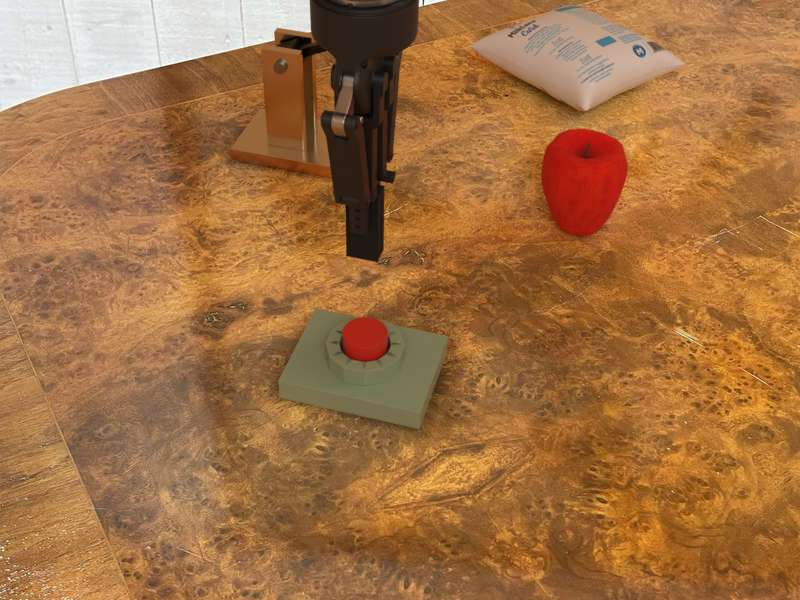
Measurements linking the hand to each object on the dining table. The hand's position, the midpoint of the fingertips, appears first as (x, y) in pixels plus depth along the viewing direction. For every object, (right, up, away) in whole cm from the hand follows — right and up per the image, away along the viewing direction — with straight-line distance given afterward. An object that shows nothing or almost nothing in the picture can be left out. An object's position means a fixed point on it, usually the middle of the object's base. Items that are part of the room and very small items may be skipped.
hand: (365, 252), depth 88 cm
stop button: (0, -8, +7) cm, 11 cm away
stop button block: (0, -11, +10) cm, 14 cm away
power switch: (-10, +14, +37) cm, 41 cm away
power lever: (-4, +22, +27) cm, 36 cm away
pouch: (+25, +24, +50) cm, 61 cm away
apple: (+22, +4, +27) cm, 35 cm away
